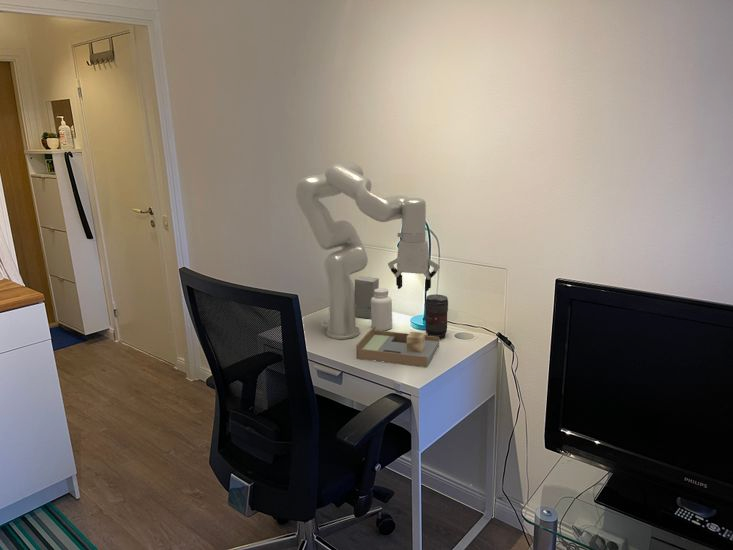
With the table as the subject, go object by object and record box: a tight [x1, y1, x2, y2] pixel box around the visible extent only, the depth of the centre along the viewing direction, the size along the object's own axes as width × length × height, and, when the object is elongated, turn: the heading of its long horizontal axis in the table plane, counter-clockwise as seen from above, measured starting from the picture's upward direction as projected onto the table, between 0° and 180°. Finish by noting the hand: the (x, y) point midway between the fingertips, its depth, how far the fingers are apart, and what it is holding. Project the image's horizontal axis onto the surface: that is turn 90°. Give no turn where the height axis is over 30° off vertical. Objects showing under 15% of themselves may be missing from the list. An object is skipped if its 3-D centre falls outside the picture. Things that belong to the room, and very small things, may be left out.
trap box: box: [355, 326, 440, 368], centre depth 192 cm, size 24×18×5 cm
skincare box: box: [354, 275, 380, 320], centre depth 227 cm, size 8×7×16 cm
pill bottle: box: [370, 287, 393, 331], centre depth 214 cm, size 8×8×15 cm
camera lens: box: [424, 294, 449, 340], centre depth 204 cm, size 8×8×15 cm
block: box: [407, 331, 426, 352], centre depth 189 cm, size 5×5×5 cm
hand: (413, 288), depth 185 cm, fingers open, 8 cm apart
